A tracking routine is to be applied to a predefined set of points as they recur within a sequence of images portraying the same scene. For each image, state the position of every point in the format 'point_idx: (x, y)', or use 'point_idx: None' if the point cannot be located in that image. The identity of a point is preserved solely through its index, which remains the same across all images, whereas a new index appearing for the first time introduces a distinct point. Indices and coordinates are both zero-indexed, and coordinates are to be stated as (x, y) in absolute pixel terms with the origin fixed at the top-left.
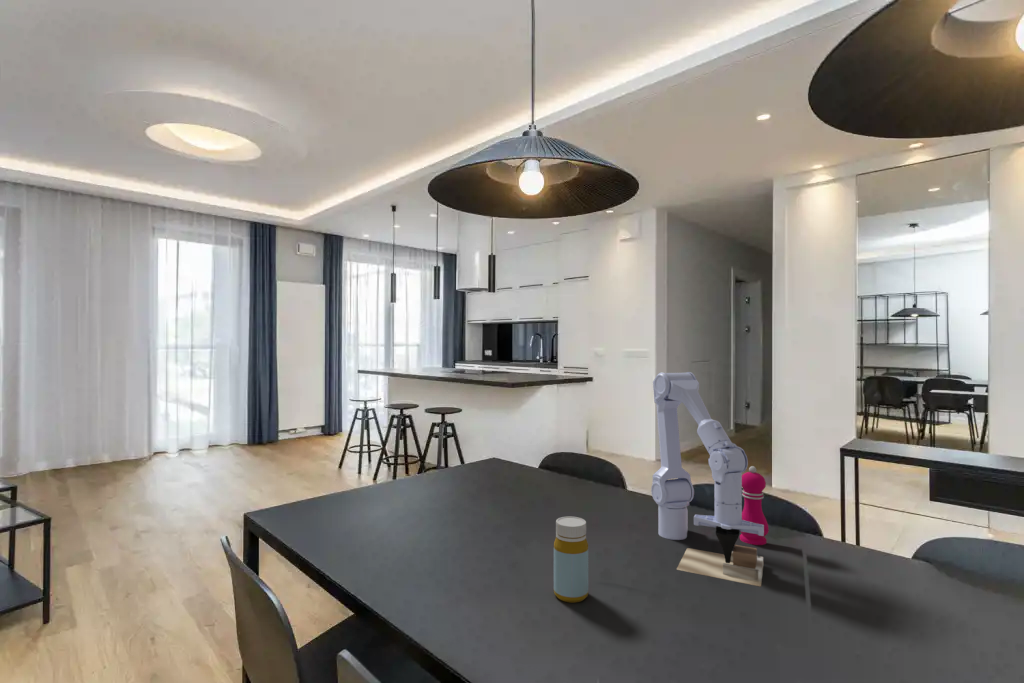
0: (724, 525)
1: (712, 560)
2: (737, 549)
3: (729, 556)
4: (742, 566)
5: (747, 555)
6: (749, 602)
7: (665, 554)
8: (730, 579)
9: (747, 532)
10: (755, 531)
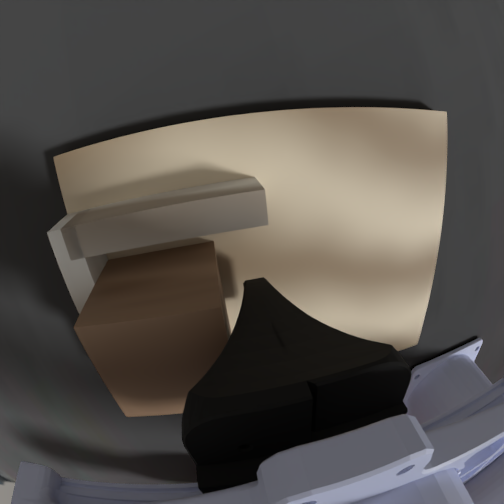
0: (389, 473)
1: (329, 305)
2: (206, 355)
3: (248, 297)
4: (163, 268)
5: (122, 314)
6: (85, 9)
7: (468, 268)
8: (200, 132)
9: (133, 484)
10: (79, 496)
